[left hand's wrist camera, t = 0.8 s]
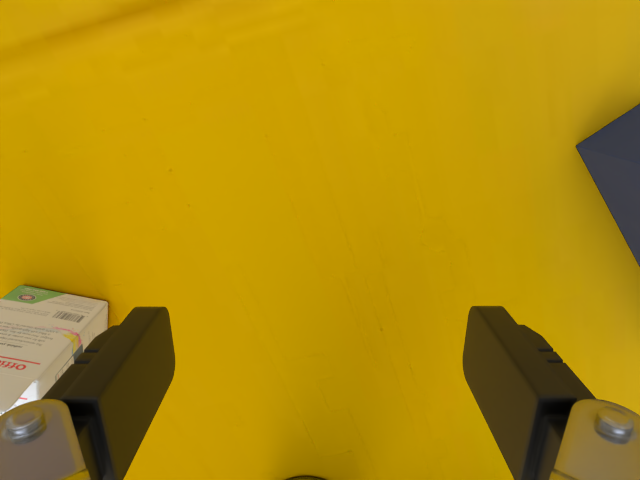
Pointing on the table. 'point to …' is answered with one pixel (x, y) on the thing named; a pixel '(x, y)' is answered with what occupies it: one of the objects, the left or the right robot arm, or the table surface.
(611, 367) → the table surface
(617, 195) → the long box
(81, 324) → the ink box
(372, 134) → the table surface
